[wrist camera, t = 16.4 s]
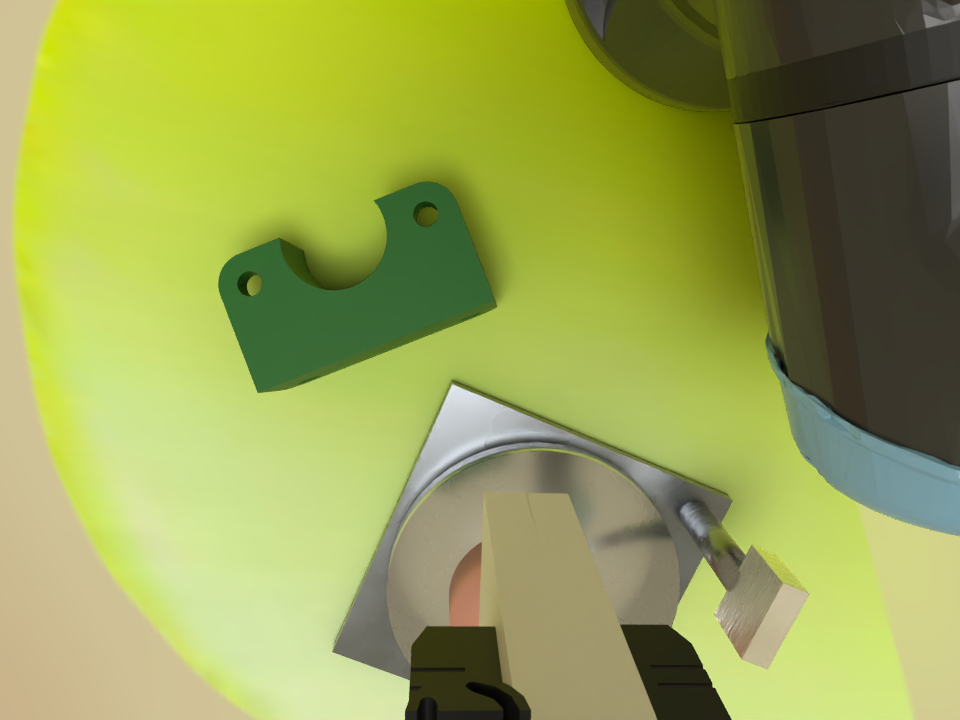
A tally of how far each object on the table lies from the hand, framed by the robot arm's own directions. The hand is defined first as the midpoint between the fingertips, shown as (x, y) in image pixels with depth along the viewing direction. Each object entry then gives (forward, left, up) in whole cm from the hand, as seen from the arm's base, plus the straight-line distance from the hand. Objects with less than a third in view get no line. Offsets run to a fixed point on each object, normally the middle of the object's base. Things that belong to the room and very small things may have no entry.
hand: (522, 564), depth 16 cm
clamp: (+1, -5, -30) cm, 30 cm away
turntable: (+12, +9, -29) cm, 33 cm away
